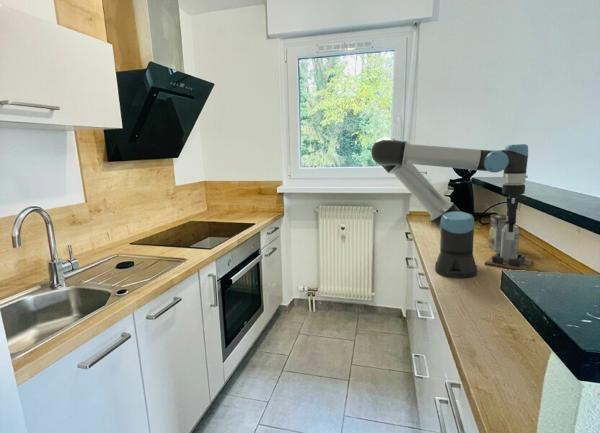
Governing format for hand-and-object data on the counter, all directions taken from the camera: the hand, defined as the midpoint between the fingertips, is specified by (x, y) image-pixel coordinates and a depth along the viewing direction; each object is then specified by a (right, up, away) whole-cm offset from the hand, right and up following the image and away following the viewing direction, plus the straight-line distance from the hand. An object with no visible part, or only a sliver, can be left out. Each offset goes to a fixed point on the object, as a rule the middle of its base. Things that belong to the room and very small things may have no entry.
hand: (509, 235), depth 129 cm
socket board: (+1, -12, +2) cm, 12 cm away
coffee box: (+9, -8, +21) cm, 25 cm away
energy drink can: (+1, -11, +2) cm, 11 cm away
